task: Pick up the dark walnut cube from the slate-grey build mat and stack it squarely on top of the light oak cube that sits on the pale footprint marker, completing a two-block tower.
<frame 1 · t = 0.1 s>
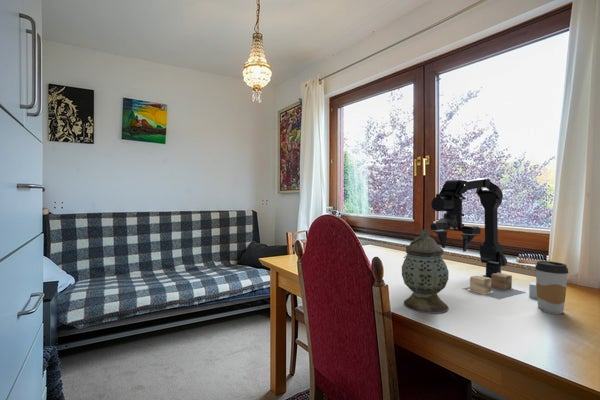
hand: (453, 249, 125), 15 cm above the table, fingers open, 9 cm apart
coffee cup: (550, 311, 99), on the table
walnut block: (501, 287, 122), resting on build mat
lantern: (424, 306, 102), on the table
build mat: (493, 291, 118), on the table
oak block: (480, 290, 118), resting on build mat
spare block: (539, 298, 111), on the table
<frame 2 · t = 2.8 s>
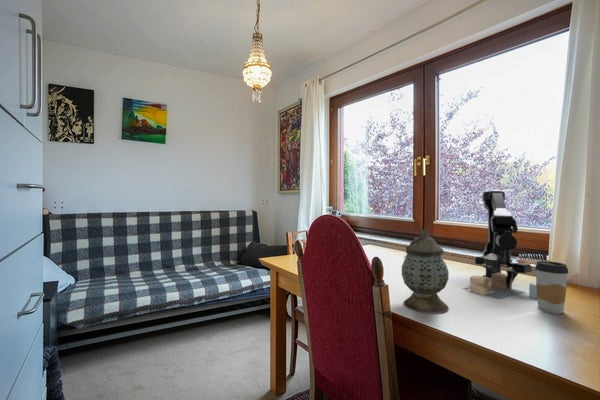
hand: (501, 285, 122), 1 cm above the table, fingers closed on walnut block, 5 cm apart
walnut block: (501, 287, 122), resting on build mat, touching gripper
everything else where it was.
when the fingers open (7 cm above the table, at t = 5.7 s): walnut block stays where it is, resting on oak block.
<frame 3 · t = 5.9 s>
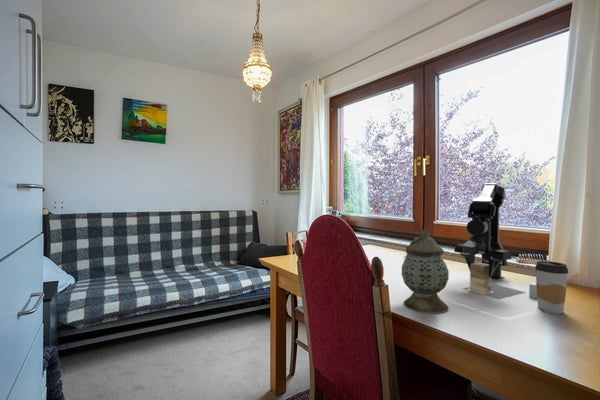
hand: (480, 274, 118), 7 cm above the table, fingers open, 7 cm apart
walnut block: (480, 277, 118), point 5 cm above the table, touching oak block
oak block: (480, 290, 118), resting on build mat, touching walnut block
everything else where it was.
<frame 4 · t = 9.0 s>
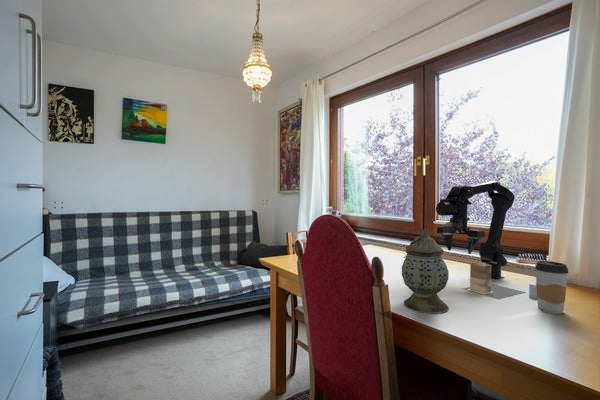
hand: (459, 252, 132), 13 cm above the table, fingers open, 9 cm apart
nothing on the table moved.
at the end: walnut block 0.0 cm off-centre on the oak block, point 5.0 cm above the oak block's base; walnut block tilted 0°; the gripper is holding nothing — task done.
